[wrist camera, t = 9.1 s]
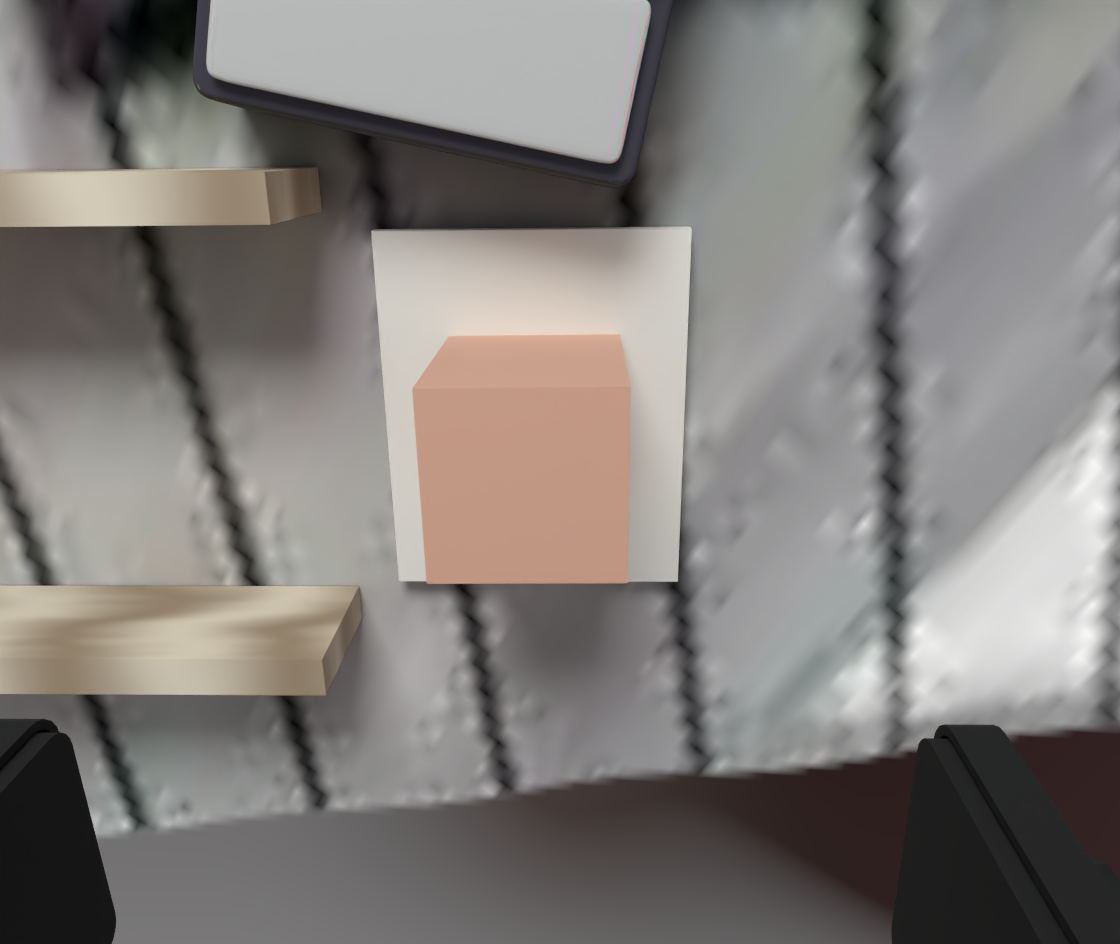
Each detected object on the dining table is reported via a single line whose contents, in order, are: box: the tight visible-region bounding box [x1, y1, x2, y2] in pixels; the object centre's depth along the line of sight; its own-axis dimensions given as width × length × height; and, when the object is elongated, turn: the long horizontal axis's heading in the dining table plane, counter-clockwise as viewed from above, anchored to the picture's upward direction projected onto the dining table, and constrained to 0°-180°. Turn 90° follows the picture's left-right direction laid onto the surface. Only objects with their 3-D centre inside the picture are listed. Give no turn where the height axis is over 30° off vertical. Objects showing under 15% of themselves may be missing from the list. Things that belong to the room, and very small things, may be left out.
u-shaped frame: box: [0, 167, 362, 695], centre depth 26 cm, size 15×14×4 cm
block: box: [412, 334, 631, 584], centre depth 24 cm, size 5×5×6 cm
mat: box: [371, 227, 692, 582], centre depth 27 cm, size 9×11×1 cm
